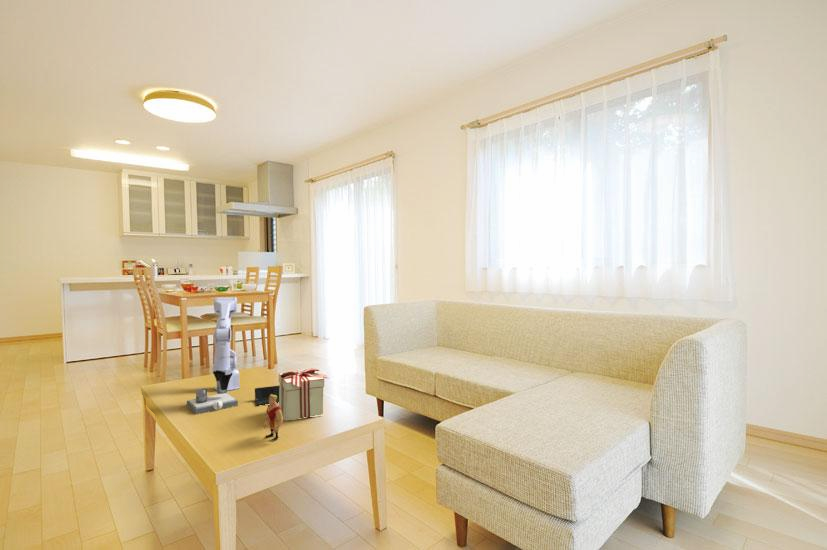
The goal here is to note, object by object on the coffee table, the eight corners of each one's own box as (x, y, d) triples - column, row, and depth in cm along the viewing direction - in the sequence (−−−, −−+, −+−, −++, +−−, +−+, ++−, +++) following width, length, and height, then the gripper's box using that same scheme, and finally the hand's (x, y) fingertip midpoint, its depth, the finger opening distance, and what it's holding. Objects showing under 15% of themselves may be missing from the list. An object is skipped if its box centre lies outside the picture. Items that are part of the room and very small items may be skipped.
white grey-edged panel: (226, 397, 180) (226, 389, 180) (238, 406, 169) (238, 397, 169) (186, 405, 169) (186, 396, 169) (196, 414, 158) (196, 405, 158)
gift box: (288, 425, 148) (288, 378, 148) (275, 411, 163) (275, 368, 163) (332, 416, 157) (332, 372, 157) (316, 404, 173) (316, 363, 173)
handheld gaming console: (258, 404, 167) (257, 381, 173) (253, 411, 172) (252, 388, 177) (285, 403, 174) (284, 381, 180) (280, 409, 178) (278, 388, 184)
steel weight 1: (205, 399, 170) (205, 387, 169) (208, 401, 167) (208, 389, 166) (194, 401, 167) (194, 389, 167) (197, 403, 164) (197, 391, 164)
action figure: (260, 435, 138) (260, 392, 138) (270, 432, 141) (270, 389, 141) (274, 443, 132) (274, 398, 132) (284, 440, 135) (284, 395, 135)
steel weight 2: (225, 390, 175) (225, 378, 175) (228, 392, 172) (228, 380, 172) (215, 392, 172) (215, 380, 172) (218, 394, 169) (218, 382, 169)
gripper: (207, 355, 175) (207, 386, 175) (217, 360, 164) (217, 394, 164) (224, 353, 179) (224, 383, 179) (235, 358, 169) (235, 390, 169)
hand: (222, 388), depth 172 cm, fingers closed on steel weight 2, 4 cm apart
